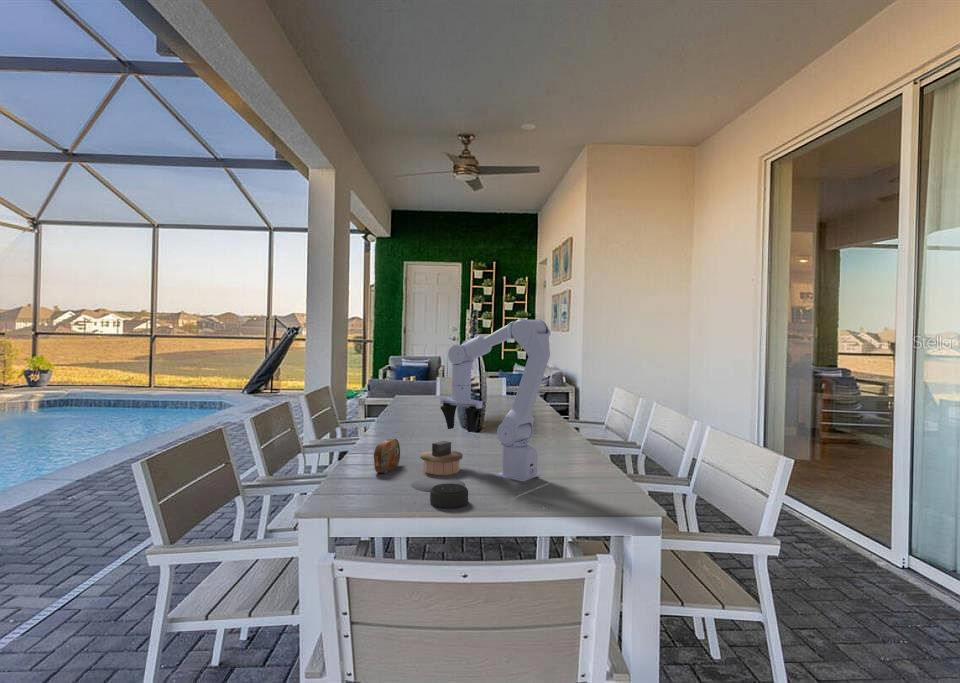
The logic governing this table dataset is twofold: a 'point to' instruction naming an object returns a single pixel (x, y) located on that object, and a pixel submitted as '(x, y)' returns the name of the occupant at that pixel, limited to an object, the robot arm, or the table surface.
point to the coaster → (433, 483)
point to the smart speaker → (449, 496)
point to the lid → (441, 453)
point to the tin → (386, 455)
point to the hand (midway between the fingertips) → (460, 430)
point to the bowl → (441, 467)
